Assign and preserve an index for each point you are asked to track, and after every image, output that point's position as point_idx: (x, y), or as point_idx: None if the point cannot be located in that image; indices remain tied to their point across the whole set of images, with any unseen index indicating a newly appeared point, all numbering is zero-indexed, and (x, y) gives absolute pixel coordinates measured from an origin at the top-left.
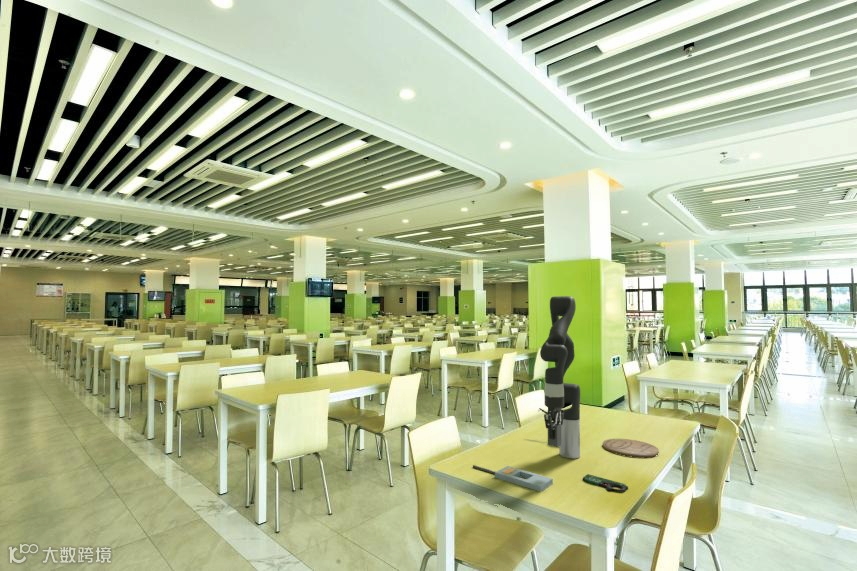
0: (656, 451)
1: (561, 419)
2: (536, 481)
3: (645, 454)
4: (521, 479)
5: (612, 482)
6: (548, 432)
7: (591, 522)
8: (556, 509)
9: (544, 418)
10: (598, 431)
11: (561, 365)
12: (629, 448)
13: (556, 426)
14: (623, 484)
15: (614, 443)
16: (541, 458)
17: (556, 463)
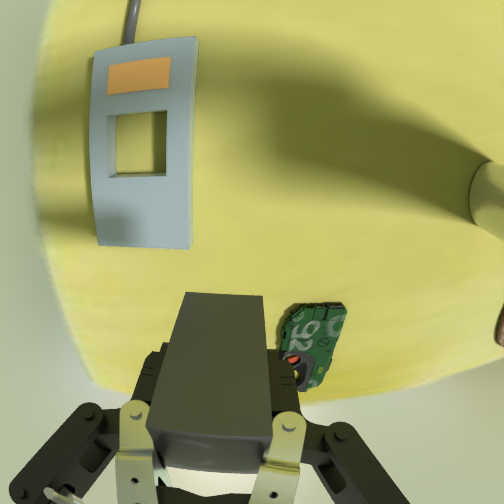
0: None
1: (328, 488)
2: (120, 215)
3: (500, 341)
4: (96, 164)
5: (313, 368)
6: (166, 365)
7: (84, 364)
8: (65, 306)
9: (22, 470)
10: None
11: None
12: None
13: (166, 462)
14: (313, 384)
15: None
16: (429, 109)
17: (412, 175)
